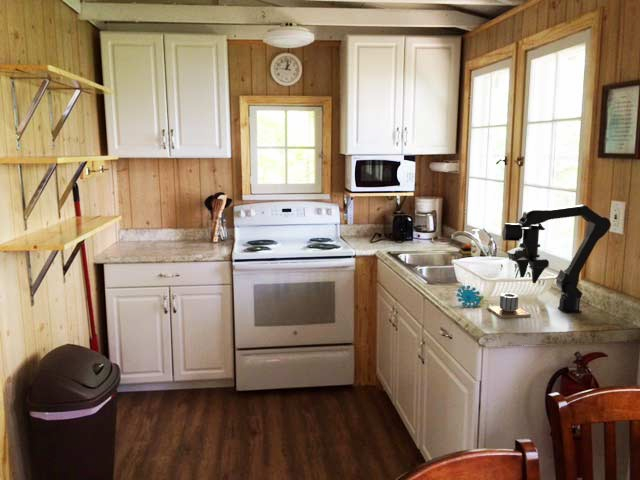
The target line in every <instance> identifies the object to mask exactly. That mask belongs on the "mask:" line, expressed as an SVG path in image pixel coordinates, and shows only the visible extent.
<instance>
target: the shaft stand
mask: <svg viewBox="0 0 640 480" xmlns="http://www.w3.org/2000/svg"><path fill="white" fill-rule="evenodd" d="M486 309H487V310H488V311H489V312H491V313H492V314H493V315H496V316H497V317H498V318H500V319H510V318H511V319H513V318H514V319H515V318H531V317H532V314H531V313H530V312H528V311H526V310H525V309H523V308H521V307H520V306H518V309H517V310H504V309H501V308H500V305H491V306H487V307H486Z"/></svg>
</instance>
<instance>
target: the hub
mask: <svg viewBox="0 0 640 480" xmlns="http://www.w3.org/2000/svg"><path fill="white" fill-rule="evenodd" d="M499 297H500V298H499V306H500V308H501V309H504V310H517V309H518V307H519V297H520V296H519V295H518V294H515V293H513V292H511V293H510V292H504V293H500V295H499Z"/></svg>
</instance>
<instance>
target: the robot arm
mask: <svg viewBox="0 0 640 480" xmlns="http://www.w3.org/2000/svg"><path fill="white" fill-rule="evenodd" d="M579 216H580V217H582V219H584V220H585V221H586V222H587V226H586V230H585V231H586V232H585V235H584V236H585V237H584V238H583V240H582V242H581V243H580V246H579V247H578V249H577V250H576V252H575V255H574V256H573V258H572V259H571V262H570V263H569V265H568V267H567V268H565V269H564V270H563V269H560V271H559V273H558V275H557V276H556V277H555V285H556V287H557V288H558V289H559V290H560V292H561V293H562V294H560V298H559V305H558V307H557V309H558V310H560V311H562V312H564V313H566V314H571V313H575V314H576V313H582V312H583V311H582V310H581V309H580V303H581V298H582V296H583V292H582V291H581V290H580V289H579V288H578V284H579V281H580V275H581V272H582V270H583V268H584V266H585V265H586V263H587V261H588V260H589V257H590V256H591V254H592V252H593V250H594V248H595V246H596V245H597V243H598V241H599V240H600V239H601V238H603V237H604V236H606V234H607V233H608V232H609V230H610V229H611V226H612V223H611V220H610V219H609V218H608V217H605V216H602V215H600V214H598V213H597V212H595V211H594V210H592V209H591V208H590V207H589V206H587V205H585V204H582V203H581V204H577V205H570V206H564V207H563V206H561V207H555V208H537V207H534V208H533V207H528V208H526V209H525V210H524V211H523V213H522V216H521V217H520V219H519V220H518V221H517V222H516V223H509V222H505V223H504V224H503V225H504V226H503V229H502V233H501V235H502V241H503V242H504V241H506V242H507V241H508V242H509V241H511V242H519V241H520V240H522V242H520V243H519V245H518V247H515V248H511V249H510V250H507V251H506V252H507V257H508V259H509V260H510V261H513V262H515V263H516V264H517V268H518V273H519V275H520V278H524V277H525V275H526V272H527V269H528V267H529V269H530V270H531V280H532V281H531V282H532V284H537V282H538V279H539V277H540V276H541V275H542V273H543V272H544V271H545V269H547V268H548V267H549V266H550V261H549V260H548V259H547V258H544V257H540V256H541V255H540V254H539V248H541V244H540V243H539V236H540V235H539V234H540V231H545V230H546V228H544V226H543V225H542V223H544V222H547V221H549V220H550V221H551V220H557V219H565V218H572V217H573V218H574V217H579Z"/></svg>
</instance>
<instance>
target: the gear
mask: <svg viewBox="0 0 640 480" xmlns="http://www.w3.org/2000/svg"><path fill="white" fill-rule="evenodd" d="M470 288H471V285H466V286H464V285H461V287H460V288H458V289H457V294H455V295H456V297H457V302H459V303H460V302H462V303H461V305H462V306H463V307H464V306H466V304H467V308H472V307H473V308H476V307H477V305H480V303H481V300H483V299H484V298H485V296H484V295H480V291H479V290H478V291H476V287H474V286H473V287H472V288H471V289H470Z"/></svg>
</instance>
